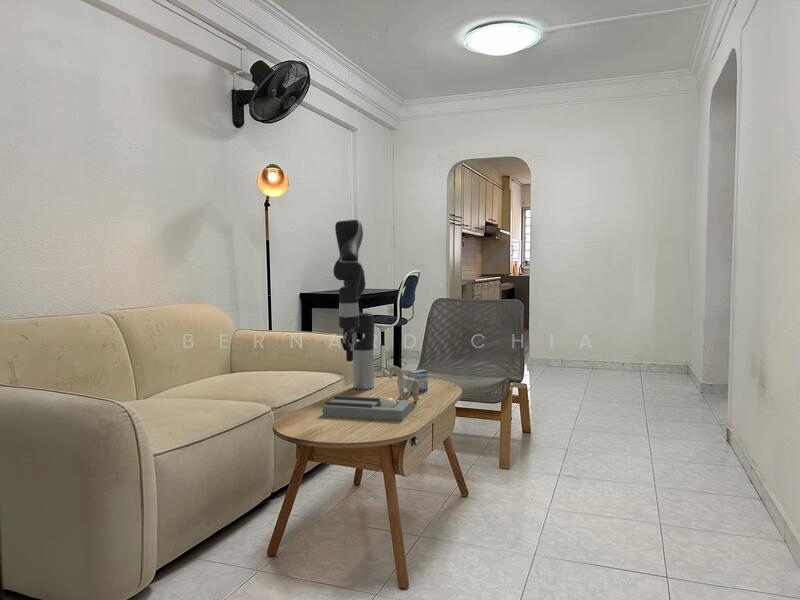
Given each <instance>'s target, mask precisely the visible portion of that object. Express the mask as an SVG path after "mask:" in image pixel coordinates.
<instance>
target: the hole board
mask: <svg viewBox="0 0 800 600" xmlns="http://www.w3.org/2000/svg"><path fill="white" fill-rule="evenodd" d="M382 400H383V398H380V397H369V396H368V397H366V396H348V395H347V396H346V395H334V396H333V399H331V400H330V401H328V400H326V401H325V402H324V403H325V404H324V405H322V416H324V417H335V418H337V417H338V418H355V419H356V418H357V419H368V418H369V420H370V419H371V420H372V419H373V420H384V419H388V421H400V420H402V421H404V419H406V417H407V416H408V415H409V414H410V413H411V412H410V411H411V410H413V400H409V399H408V400H405V399H402V400H398V399H394V400H395V402H396V404H397V405H396V406H395V407H394V408H389V407H380V404H381V402H382ZM409 412H410V413H409Z"/></svg>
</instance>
